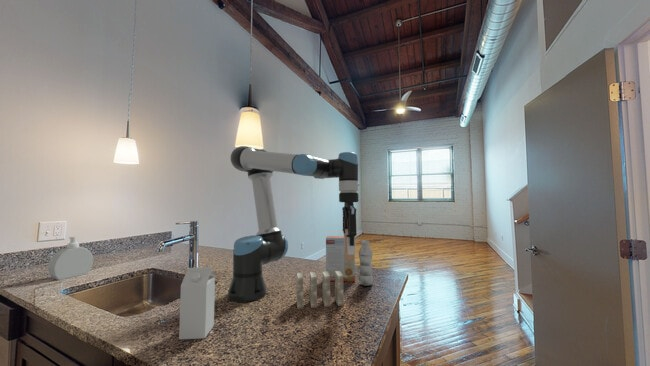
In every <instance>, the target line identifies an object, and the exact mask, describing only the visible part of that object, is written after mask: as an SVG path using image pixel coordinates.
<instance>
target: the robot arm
mask: <svg viewBox="0 0 650 366" xmlns="http://www.w3.org/2000/svg"><path fill="white" fill-rule="evenodd" d="M229 158H230V163H231V164H232V166H233V167H234V168H235V169H236V170H238V171H241V172H245V173H247V177H248V179H249V180H250V181H251V183H252V191H253V197H254V205H255V206H254V207H255V213H256V218H257V219H256V220H257V226H258V227H257V228H258V231H257V232H256V234H255V235H247V236H246V235H245V236H243V237H240V238H238V239H236V240H235V241H234V242H233V249H232V255H233V256H232V261H233V263H232V264H233V265H232V267H233V268H232V279H231V281H230V285H229V288H228V291H227V298H228V300H230V301H232V302H237V303H246V302H247V303H248V302H253V301H257V300H260V299H262V298H263V297H265V296H266V294H267V285H266V283H265V282H266V281H265V279H264V276H263V265H267V264H269V263H273V262H277V261H279V260H281V259H283V258H285V256H286V255H287V253H288V249H289V242H288V238H286V236H285V235H283V234H282V230H281V229H280V227H278V224H277V217H276V209H275V203H274V196H273V190H272V189H273V188H272V182H271V178H272V177H273V173H274V172H278V173H283V174H284V173H286V174H293V175H299V176H306V177H313V178H314V179H318V180H319V179H320V180H321V179H322V180H324V179H332V178H333V179H335V178H338V191H339V193H338V202H340V203H344V205H343V207H341V208H342V232H343V236H344V251H345V229H348V235H346V237H347V244H348V255H356V236H357V208H355V205H354V204H355V203H358V202H359V193H358V191H359V187H360V183H359V159H358V154H357V153H356V152H353V151H343V152H340V153H339V154H338V157H337V158H334V159H326V158H321V157H316V156H314V155H311V154H307V153H300V154H299V153H298V154H297V153H286V152H275V151H266V150H264V149H260V148H259V149H258V148H254V147H251V146H246V145H244V146H243V145H242V146H238V147H235V148H234V149H233V150H232V152H231V154H230V157H229Z"/></svg>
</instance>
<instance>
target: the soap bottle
mask: <svg viewBox="0 0 650 366" xmlns="http://www.w3.org/2000/svg"><path fill="white" fill-rule="evenodd" d="M68 239H69V240H70V242H69V243H67V244H66V248H65V247H64V248H61V249H60V250H59V251H57V252H56V253H54V255H53V256H52V258H51V259H50V261H49V263H48V266H47V268H48V274H49V276H50V277H51V278H52V279H53V280H57V281H62V280H65V279H66V280H67V279H70V278H74V277H75V278H76V277H78V276H83V275H87V274H88V273H89V272H90V271H91V269H92V266H93V263H94V257H93V256H94V255H93V253H92V252H91V251H90V250H89V249H87V248H86V247H84V246H80V243H79V242H78V241H77V236H69V237H68Z"/></svg>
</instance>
